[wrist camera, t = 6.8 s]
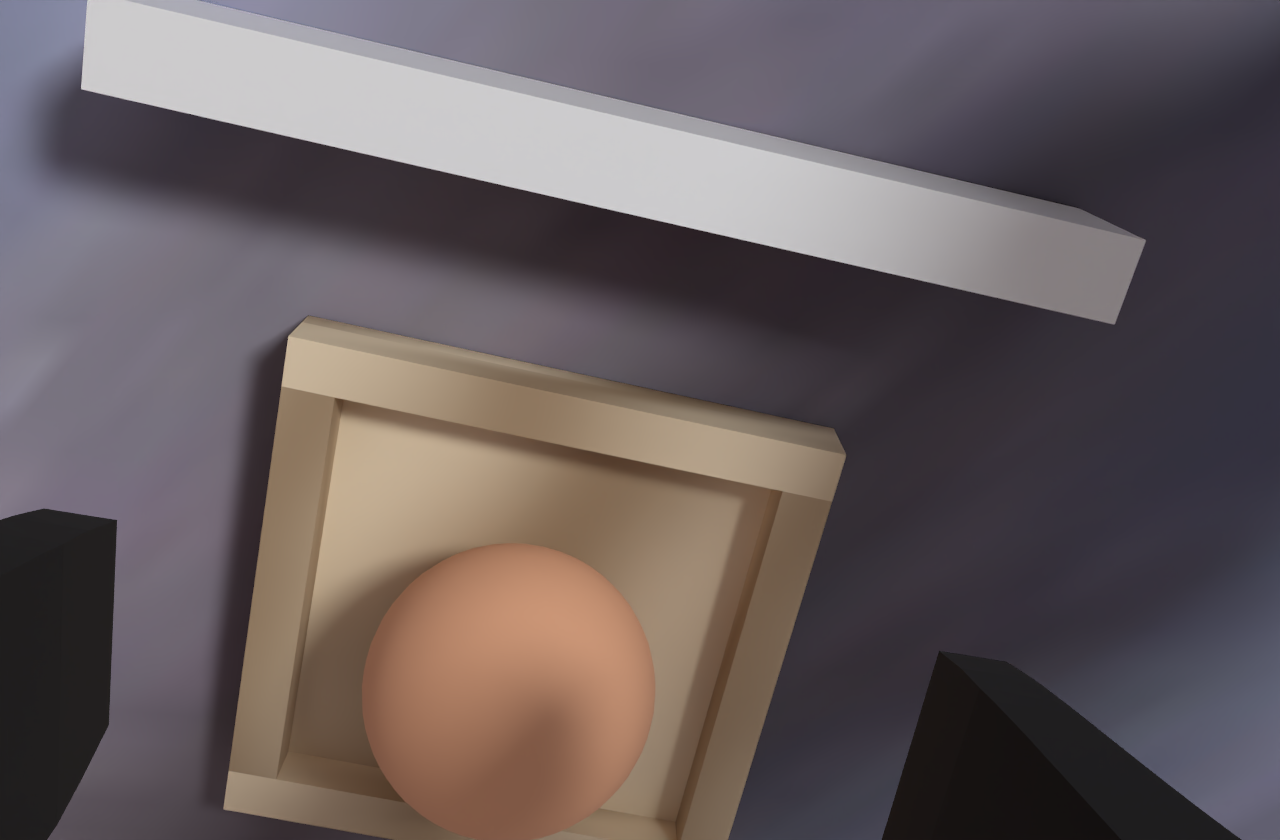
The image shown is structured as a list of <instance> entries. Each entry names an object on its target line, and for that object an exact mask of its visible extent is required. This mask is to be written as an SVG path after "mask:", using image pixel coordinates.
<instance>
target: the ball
mask: <svg viewBox="0 0 1280 840" xmlns="http://www.w3.org/2000/svg"><path fill="white" fill-rule="evenodd" d="M654 703H655V673H654V666H653V661H652V656H651V652H650V648H649V643H648V641H647V638H646V636H645V633H644V631H643V628H642V626H641V624H640V622H639V620H638V618H637V617H636V615H635V613H634V611H633V610H632V608H631V606H630V605H629V603H628V602H627V601H626V600H625V598H624V597H623V596H622V594H621V593H620V592H619V591H618V590H617V589H616V588H615V587H614V586H613V585H612V584H611V583H610V582H609V581H608V580H607V579H606V578H605V577H604V576H603V575H601V574H600V573H599V572H597V571H596V570H595V569H593V568H592V567H591V566H589V565H587V564H586V563H584V562H582V561H580V560H579V559H577V558H575V557H572V556H570V555H568V554H565V553H563V552H560V551H557V550H554V549H550V548H547V547H543V546H536V545H530V544H517V543H504V544H491V545H486V546H481V547H476V548H473V549H469V550H466V551H463V552H460V553H458V554H455V555H453V556H451V557H449V558H447V559H445V560H443V561H441V562H440V563H438V564H436V565H435V566H433V567H432V568H430V569H429V570H427V571H425V572H424V573H422V574H421V575H420V576H419V577H418V578H417V579H415V580H414V581H413V582H412V583H411V584H409V586H408V587H407V588H406V589H405V590H404V591H403V592H402V593H401V595H400V596H399V597H398V598H397V599H396V600H395V601H394V603H393V604H392V605H391V607H390V608H389V610H388V611H387V613H386V614H385V616H384V617H383V619H382V621H381V623H380V625H379V627H378V629H377V631H376V634H375V636H374V638H373V640H372V642H371V645H370V648H369V652H368V655H367V659H366V663H365V668H364V674H363V682H362V712H363V719H364V725H365V730H366V733H367V737H368V740H369V743H370V746H371V749H372V752H373V755H374V757H375V759H376V761H377V763H378V765H379V767H380V769H381V771H382V772H383V774H384V775H385V777H386V778H387V780H388V781H389V783H390V784H391V786H392V787H393V789H394V790H395V791H396V792H397V793H398V794H399V795H400V796H401V798H402V799H403V800H404V801H405V802H406V803H408V804H409V805H410V806H411V807H412V808H413V809H415V810H416V811H417V812H418V813H419V814H421V815H422V816H423V817H425V818H426V819H428V820H429V821H431V822H432V823H434V824H436V825H438V826H440V827H442V828H444V829H446V830H448V831H450V832H453V833H456V834H458V835H461V836H464V837H468V838H472V839H476V840H534V839H539V838H543V837H546V836H549V835H552V834H555V833H558V832H560V831H562V830H564V829H567V828H569V827H571V826H573V825H575V824H576V823H578V822H580V821H582V820H583V819H585V818H587V817H588V816H590V815H591V814H592V813H594V812H595V811H596V810H598V809H599V808H600V807H601V806H602V805H603V804H604V803H605V802H606V801H607V800H608V799H609V798H611V797H612V796H613V794H614V793H615V792H616V791H617V790H618V789H619V788H620V787H621V785H622V784H623V783H624V782H625V780H626V779H627V778H628V776H629V775H630V773H631V771H632V769H633V768H634V766H635V764H636V762H637V761H638V759H639V757H640V755H641V753H642V751H643V748H644V746H645V743H646V741H647V738H648V734H649V731H650V727H651V722H652V718H653V714H654Z"/></svg>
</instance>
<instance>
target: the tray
mask: <svg viewBox="0 0 1280 840" xmlns="http://www.w3.org/2000/svg"><path fill="white" fill-rule="evenodd" d="M845 458H846V453H845V451H844V449H843V447H842V445H841V443H840V441H839V439H838V436H837V434H836V432H835V430H834V428H829V427H825V426H820V425H815V424H811V423H806V422H801V421H797V420H792V419H787V418H783V417H778V416H773V415H769V414H764V413H759V412H755V411H750V410H746V409H741V408H736V407H732V406H727V405H722V404H718V403H713V402H708V401H704V400H699V399H694V398H690V397H685V396H680V395H676V394H671V393H666V392H662V391H657V390H653V389H648V388H643V387H639V386H634V385H629V384H625V383H620V382H615V381H611V380H606V379H601V378H597V377H592V376H587V375H583V374H578V373H574V372H569V371H564V370H560V369H555V368H550V367H546V366H541V365H536V364H532V363H527V362H522V361H518V360H513V359H508V358H504V357H499V356H494V355H490V354H485V353H481V352H476V351H471V350H467V349H462V348H457V347H453V346H448V345H443V344H439V343H434V342H429V341H425V340H420V339H415V338H411V337H406V336H402V335H397V334H392V333H388V332H383V331H378V330H374V329H369V328H364V327H360V326H355V325H350V324H346V323H341V322H336V321H332V320H327V319H322V318H318V317H313V316H309V315H308V316H307V317H306V319H305V320H304V321H303V322H302V323H301V324H300V325H299V326H298V327H297V328H296V329H295V330H294V331H293V332H292V333H291V334H290V335H289V336H288V343H287V350H286V357H285V364H284V372H283V379H282V386H281V394H280V401H279V408H278V415H277V423H276V430H275V437H274V445H273V452H272V459H271V466H270V474H269V481H268V488H267V495H266V503H265V510H264V517H263V525H262V532H261V539H260V546H259V554H258V561H257V568H256V575H255V583H254V590H253V597H252V605H251V612H250V619H249V626H248V634H247V641H246V648H245V655H244V663H243V670H242V677H241V685H240V692H239V699H238V706H237V714H236V721H235V728H234V735H233V743H232V750H231V757H230V765H229V772H228V779H227V786H226V794H225V801H224V808H223V809H224V810H230V811H235V812H241V813H247V814H252V815H258V816H263V817H269V818H275V819H280V820H286V821H292V822H297V823H303V824H308V825H314V826H320V827H325V828H331V829H336V830H342V831H348V832H353V833H359V834H365V835H370V836H376V837H381V838H387V839H393V840H476V839H472V838H468V837H464V836H461V835H458V834H456V833H453V832H450V831H448V830H446V829H444V828H442V827H440V826H438V825H436V824H434V823H432V822H431V821H429V820H428V819H426V818H425V817H423V816H422V815H421V814H419V813H418V812H417V811H416V810H415V809H413V808H412V807H411V806H410V805H409V804H408V803H406V802H405V801H404V800H403V799H402V798H401V796H400V795H399V794H398V793H397V792H396V791H395V790H394V789H393V787H392V786H391V784H390V783H389V781H388V780H387V778H386V777H385V775H384V774H383V772H382V771H381V769H380V767H379V765H378V763H377V761H376V759H375V757H374V755H373V752H372V749H371V746H370V743H369V740H368V737H367V733H366V730H365V725H364V719H363V712H362V682H363V674H364V668H365V663H366V659H367V655H368V652H369V648H370V645H371V642H372V640H373V638H374V636H375V634H376V631H377V629H378V627H379V625H380V623H381V621H382V619H383V617H384V616H385V614H386V613H387V611H388V610H389V608H390V607H391V605H392V604H393V603H394V601H395V600H396V599H397V598H398V597H399V596H400V595H401V593H402V592H403V591H404V590H405V589H406V588H407V587H408V586H409V584H411V583H412V582H413V581H414V580H415V579H417V578H418V577H419V576H420V575H421V574H422V573H424V572H425V571H427V570H429V569H430V568H432V567H433V566H435V565H436V564H438V563H440V562H441V561H443V560H445V559H447V558H449V557H451V556H453V555H455V554H458V553H460V552H463V551H466V550H469V549H473V548H476V547H481V546H486V545H491V544H504V543H517V544H530V545H536V546H543V547H547V548H550V549H554V550H557V551H560V552H563V553H565V554H568V555H570V556H572V557H575V558H577V559H579V560H580V561H582V562H584V563H586V564H587V565H589V566H591V567H592V568H593V569H595V570H596V571H597V572H599V573H600V574H601V575H603V576H604V577H605V578H606V579H607V580H608V581H609V582H610V583H611V584H612V585H613V586H614V587H615V588H616V589H617V590H618V591H619V592H620V593H621V594H622V596H623V597H624V598H625V600H626V601H627V602H628V603H629V605H630V606H631V608H632V610H633V611H634V613H635V615H636V617H637V618H638V620H639V622H640V624H641V626H642V628H643V631H644V633H645V636H646V638H647V641H648V643H649V648H650V652H651V656H652V661H653V666H654V673H655V703H654V714H653V718H652V722H651V727H650V731H649V734H648V738H647V741H646V743H645V746H644V748H643V751H642V753H641V755H640V757H639V759H638V761H637V762H636V764H635V766H634V768H633V769H632V771H631V773H630V775H629V776H628V778H627V779H626V780H625V782H624V783H623V784H622V785H621V787H620V788H619V789H618V790H617V791H616V792H615V793H614V794H613V796H612V797H611V798H609V799H608V800H607V801H606V802H605V803H604V804H603V805H602V806H601V807H600V808H599V809H598V810H596V811H595V812H594V813H592V814H591V815H590V816H588V817H587V818H585V819H583V820H582V821H580V822H578V823H576V824H575V825H573V826H571V827H569V828H567V829H564V830H562V831H560V832H558V833H555V834H552V835H549V836H546V837H543V838H539V839H534V840H728V838H729V835H730V831H731V828H732V825H733V822H734V819H735V815H736V812H737V809H738V806H739V802H740V799H741V796H742V793H743V789H744V786H745V783H746V780H747V776H748V773H749V770H750V767H751V763H752V760H753V757H754V754H755V750H756V747H757V744H758V741H759V737H760V734H761V731H762V728H763V724H764V721H765V718H766V715H767V711H768V708H769V705H770V702H771V698H772V695H773V692H774V689H775V685H776V682H777V679H778V676H779V673H780V669H781V666H782V663H783V660H784V656H785V653H786V650H787V647H788V643H789V640H790V637H791V634H792V630H793V627H794V624H795V621H796V617H797V614H798V611H799V608H800V604H801V601H802V598H803V595H804V591H805V588H806V585H807V582H808V578H809V575H810V572H811V569H812V565H813V562H814V559H815V556H816V552H817V549H818V546H819V543H820V539H821V536H822V533H823V530H824V527H825V523H826V520H827V517H828V514H829V510H830V507H831V504H832V501H833V497H834V494H835V491H836V488H837V484H838V481H839V478H840V475H841V471H842V468H843V465H844V462H845Z"/></svg>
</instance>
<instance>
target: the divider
mask: <svg viewBox="0 0 1280 840" xmlns="http://www.w3.org/2000/svg"><path fill="white" fill-rule="evenodd" d="M81 89H82V90H87V91H91V92H95V93H100V94H104V95H109V96H113V97H117V98H122V99H126V100H131V101H135V102H139V103H144V104H148V105H153V106H157V107H161V108H166V109H170V110H174V111H179V112H183V113H188V114H192V115H196V116H201V117H205V118H210V119H214V120H218V121H223V122H227V123H232V124H236V125H240V126H245V127H249V128H253V129H258V130H262V131H267V132H271V133H275V134H280V135H284V136H289V137H293V138H297V139H302V140H306V141H311V142H315V143H319V144H324V145H328V146H332V147H337V148H341V149H346V150H350V151H354V152H359V153H363V154H368V155H372V156H376V157H381V158H385V159H390V160H394V161H398V162H403V163H407V164H412V165H416V166H420V167H425V168H429V169H433V170H438V171H442V172H447V173H451V174H455V175H460V176H464V177H469V178H473V179H477V180H482V181H486V182H491V183H495V184H499V185H504V186H508V187H512V188H517V189H521V190H526V191H530V192H534V193H539V194H543V195H548V196H552V197H556V198H561V199H565V200H570V201H574V202H578V203H583V204H587V205H591V206H596V207H600V208H605V209H609V210H613V211H618V212H622V213H627V214H631V215H635V216H640V217H644V218H649V219H653V220H657V221H662V222H666V223H671V224H675V225H679V226H684V227H688V228H692V229H697V230H701V231H706V232H710V233H714V234H719V235H723V236H728V237H732V238H736V239H741V240H745V241H750V242H754V243H758V244H763V245H767V246H771V247H776V248H780V249H785V250H789V251H793V252H798V253H802V254H807V255H811V256H815V257H820V258H824V259H829V260H833V261H837V262H842V263H846V264H850V265H855V266H859V267H864V268H868V269H872V270H877V271H881V272H886V273H890V274H894V275H899V276H903V277H908V278H912V279H916V280H921V281H925V282H930V283H934V284H938V285H943V286H947V287H951V288H956V289H960V290H965V291H969V292H973V293H978V294H982V295H987V296H991V297H995V298H1000V299H1004V300H1009V301H1013V302H1017V303H1022V304H1026V305H1030V306H1035V307H1039V308H1044V309H1048V310H1052V311H1057V312H1061V313H1066V314H1070V315H1074V316H1079V317H1083V318H1088V319H1092V320H1096V321H1101V322H1105V323H1109V324H1114V325H1115V322H1116V320H1117V317H1118V314H1119V312H1120V309H1121V306H1122V304H1123V301H1124V298H1125V296H1126V293H1127V290H1128V288H1129V285H1130V282H1131V280H1132V277H1133V274H1134V271H1135V269H1136V266H1137V263H1138V261H1139V258H1140V255H1141V253H1142V250H1143V247H1144V245H1145V242H1146V240H1145V239H1143V238H1140V237H1138V236H1136V235H1134V234H1132V233H1130V232H1128V231H1126V230H1124V229H1122V228H1119V227H1117V226H1115V225H1113V224H1111V223H1109V222H1107V221H1105V220H1103V219H1101V218H1098V217H1096V216H1094V215H1092V214H1090V213H1088V212H1086V211H1084V210H1082V209H1079V208H1075V207H1071V206H1067V205H1063V204H1058V203H1054V202H1050V201H1046V200H1041V199H1037V198H1033V197H1029V196H1024V195H1020V194H1016V193H1012V192H1007V191H1003V190H999V189H995V188H991V187H986V186H982V185H978V184H974V183H969V182H965V181H961V180H957V179H952V178H948V177H944V176H940V175H935V174H931V173H927V172H923V171H919V170H914V169H910V168H906V167H902V166H897V165H893V164H889V163H885V162H880V161H876V160H872V159H868V158H863V157H859V156H855V155H851V154H847V153H842V152H838V151H834V150H830V149H825V148H821V147H817V146H813V145H808V144H804V143H800V142H796V141H791V140H787V139H783V138H779V137H775V136H770V135H766V134H762V133H758V132H753V131H749V130H745V129H741V128H736V127H732V126H728V125H724V124H719V123H715V122H711V121H707V120H703V119H698V118H694V117H690V116H686V115H681V114H677V113H673V112H669V111H664V110H660V109H656V108H652V107H647V106H643V105H639V104H635V103H631V102H626V101H622V100H618V99H614V98H609V97H605V96H601V95H597V94H592V93H588V92H584V91H580V90H576V89H571V88H567V87H563V86H559V85H554V84H550V83H546V82H542V81H537V80H533V79H529V78H525V77H520V76H516V75H512V74H508V73H504V72H499V71H495V70H491V69H487V68H482V67H478V66H474V65H470V64H465V63H461V62H457V61H453V60H448V59H444V58H440V57H436V56H432V55H427V54H423V53H419V52H415V51H410V50H406V49H402V48H398V47H393V46H389V45H385V44H381V43H376V42H372V41H368V40H364V39H360V38H355V37H351V36H347V35H343V34H338V33H334V32H330V31H326V30H321V29H317V28H313V27H309V26H304V25H300V24H296V23H292V22H288V21H283V20H279V19H275V18H271V17H266V16H262V15H258V14H254V13H249V12H245V11H241V10H237V9H232V8H228V7H224V6H220V5H216V4H211V3H207V2H203V1H199V0H87V14H86V28H85V41H84V55H83V69H82V83H81Z"/></svg>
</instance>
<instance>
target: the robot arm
mask: <svg viewBox="0 0 1280 840" xmlns="http://www.w3.org/2000/svg"><path fill="white" fill-rule="evenodd" d="M116 531H117V520H112V519H106V518H100V517H93V516H87V515H81V514H74V513H68V512H62V511H56V510H49V509H40V510H36V511H31V512H27V513H23V514H19V515H15V516H12V517H8V518H5V519H2V520H0V840H47V839H48V837H49V836H50V834H51V833H52V831H53V830H54V828H55V827H56V825H57V824H58V822H59V820H60V818H61V816H62V814H63V813H64V811H65V809H66V807H67V805H68V803H69V802H70V800H71V798H72V796H73V794H74V792H75V790H76V789H77V787H78V785H79V783H80V781H81V779H82V777H83V775H84V773H85V771H86V769H87V767H88V765H89V763H90V761H91V759H92V757H93V755H94V753H95V751H96V749H97V747H98V745H99V743H100V741H101V739H102V737H103V735H104V733H105V731H106V729H107V727H108V725H109V705H110V680H111V655H112V630H113V605H114V580H115V556H116ZM882 840H1241V839H1240V838H1238V837H1237V836H1235V835H1234V834H1233V833H1231V832H1230V831H1229V830H1227V829H1226V828H1225V827H1223V826H1222V825H1221V824H1219V823H1218V822H1217V821H1215V820H1214V819H1213V818H1211V817H1210V816H1209V815H1207V814H1206V813H1205V812H1203V811H1202V810H1201V809H1199V808H1198V807H1197V806H1195V805H1194V804H1193V803H1192V802H1190V801H1189V800H1188V799H1186V798H1185V797H1184V796H1182V795H1181V794H1180V793H1179V792H1177V791H1176V790H1175V789H1173V788H1172V787H1171V786H1170V785H1168V784H1167V783H1166V782H1164V781H1163V780H1162V779H1161V778H1159V777H1158V776H1157V775H1156V774H1154V773H1153V772H1152V771H1150V770H1149V769H1148V768H1147V767H1145V766H1144V765H1143V764H1142V763H1140V762H1139V761H1138V760H1136V759H1135V758H1134V757H1133V756H1131V755H1130V754H1129V753H1128V752H1126V751H1125V750H1124V749H1123V748H1121V747H1120V746H1119V745H1118V744H1116V743H1115V742H1114V741H1113V740H1111V739H1110V738H1109V737H1108V736H1106V735H1105V734H1104V733H1103V732H1101V731H1100V730H1099V729H1097V728H1096V727H1095V726H1094V725H1092V724H1091V723H1090V722H1089V721H1087V720H1086V719H1085V718H1084V717H1082V716H1081V715H1080V714H1079V713H1077V712H1076V711H1075V710H1073V709H1072V708H1071V707H1070V706H1068V705H1067V704H1066V703H1064V702H1063V701H1062V700H1061V699H1059V698H1058V697H1057V696H1055V695H1054V694H1053V693H1051V692H1050V691H1049V690H1047V689H1046V688H1045V687H1043V686H1042V685H1041V684H1039V683H1038V682H1036V681H1035V680H1034V679H1032V678H1031V677H1029V676H1028V675H1026V674H1025V673H1023V672H1022V671H1020V670H1019V669H1017V668H1015V667H1014V666H1012V665H1010V664H1009V663H1007V662H1004V661H998V660H992V659H986V658H979V657H973V656H967V655H960V654H954V653H948V652H942V651H939V654H938V657H937V660H936V664H935V667H934V670H933V673H932V677H931V680H930V683H929V687H928V690H927V693H926V696H925V700H924V703H923V706H922V710H921V713H920V716H919V719H918V723H917V726H916V729H915V733H914V736H913V739H912V742H911V746H910V749H909V752H908V756H907V759H906V762H905V765H904V769H903V772H902V775H901V778H900V782H899V785H898V788H897V792H896V795H895V798H894V801H893V805H892V808H891V811H890V815H889V818H888V821H887V824H886V828H885V831H884V834H883V838H882Z"/></svg>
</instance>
